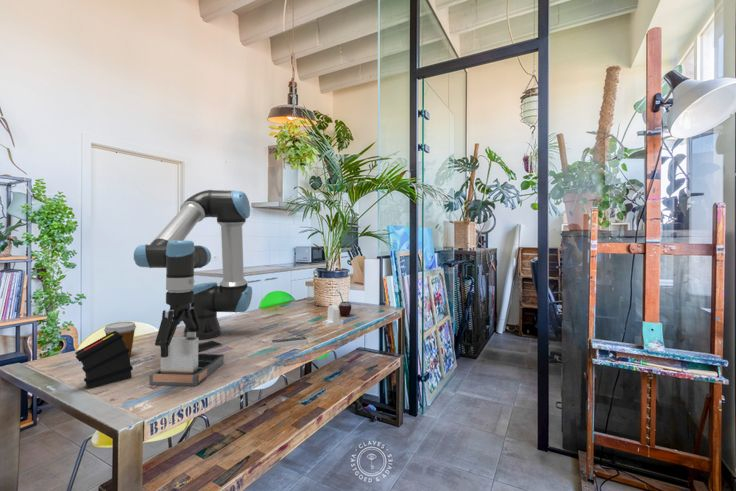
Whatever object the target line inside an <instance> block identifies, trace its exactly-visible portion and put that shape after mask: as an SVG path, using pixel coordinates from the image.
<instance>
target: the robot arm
mask: <svg viewBox="0 0 736 491" xmlns="http://www.w3.org/2000/svg"><path fill="white" fill-rule="evenodd" d="M250 213H251V204H250V201H249V198H248V196H247V194H246V193H245V192H243V191H240V190H222V189H220V190H214V189H206V190H203V191H199V192H197V193H195V194H193V195H191V196H190V197H188V198H187V199H186V200H184V201H183V203H182V204H181V206H180V207H179V211H178V212H177V213H176V215H175V216H174V217H173V218H172V219H171V220H170V221H169V223H167V225H166V226H165V227H164V228H163V229H162V230H161V231H160V232H159V234H158V235H157V236H156V237H155V238H154V240H152V241H151V243H150V244H140V245H138V246H136V247H135V249H134V252H133V261H134V262H135V264H136V266H138V267H140V268H150V269H165V270H166V274H165V276H166V278H165V290H166V293H165V303H166V305H169V310H164V309H163V311H162V312H161V313H162V314H161V321H160V325H159V329H158V332H157V334H156V338H155V341H154V342H155V343H154V346H156V347H160V368H171V367H172V345H170V342H171V340H172V337H174V335H175V332H176V330H177V328H178V325H180V324H181V323H182V322H183V324H184V325H185V327H184V330H183V333H182V334H183V336H182V337H198V340H206V339H212V338H215V337H218V336H220V335H221V334H222V331H221V330H222V328H221V325H220V322H219V319H218V313H244V312H246V311H247V310H248V309H249V307H250V305H251V301H252V296H253V287H252V286H250V285H248V281H247V280H246V279H245V278H244V274H245V273H244V250H243V249H244V248H243V246H244V244H243V225H244V224H246V222H247V221H246V219H248V218H250V215H251V214H250ZM205 218H216V222H217V224H218V225H219V226H220V235H221V237H220V238H221V258H222V280H221V281H220V282H219V284H218V282H217V281H216V282H213V281H212V282H203V283H198V284H195V283H196V282H195V279H194V277H195V269H201V268H203V267H205V266H207V265H208V264H209V263H210V262H211V260H212V254H211V251H210V250H209V249H208V248H207V247H206V246H204V245H196V244H195V242H194V241H192V240H185V239H186V238H187V236H188V235H189V234H190V232H192V230H193V229H194V227H195V226H196V225H197V223H199V222H202V221H203V220H204V219H205Z"/></svg>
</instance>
